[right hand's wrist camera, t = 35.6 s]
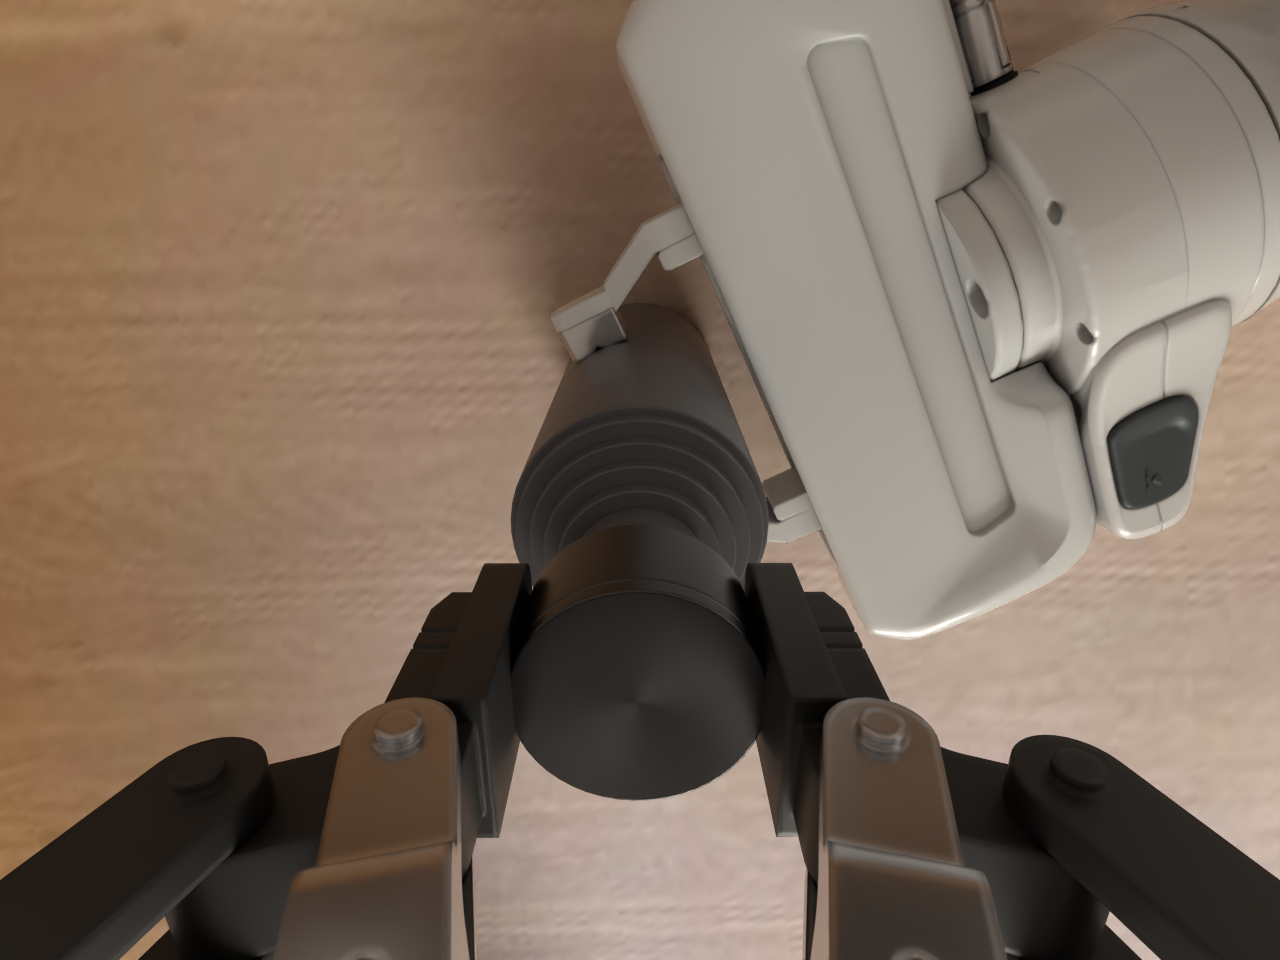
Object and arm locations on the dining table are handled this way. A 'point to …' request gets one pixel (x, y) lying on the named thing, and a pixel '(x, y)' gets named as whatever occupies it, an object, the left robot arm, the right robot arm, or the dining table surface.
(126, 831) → the right robot arm
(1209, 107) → the left robot arm
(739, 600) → the cap
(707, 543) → the bottle
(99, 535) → the dining table surface
